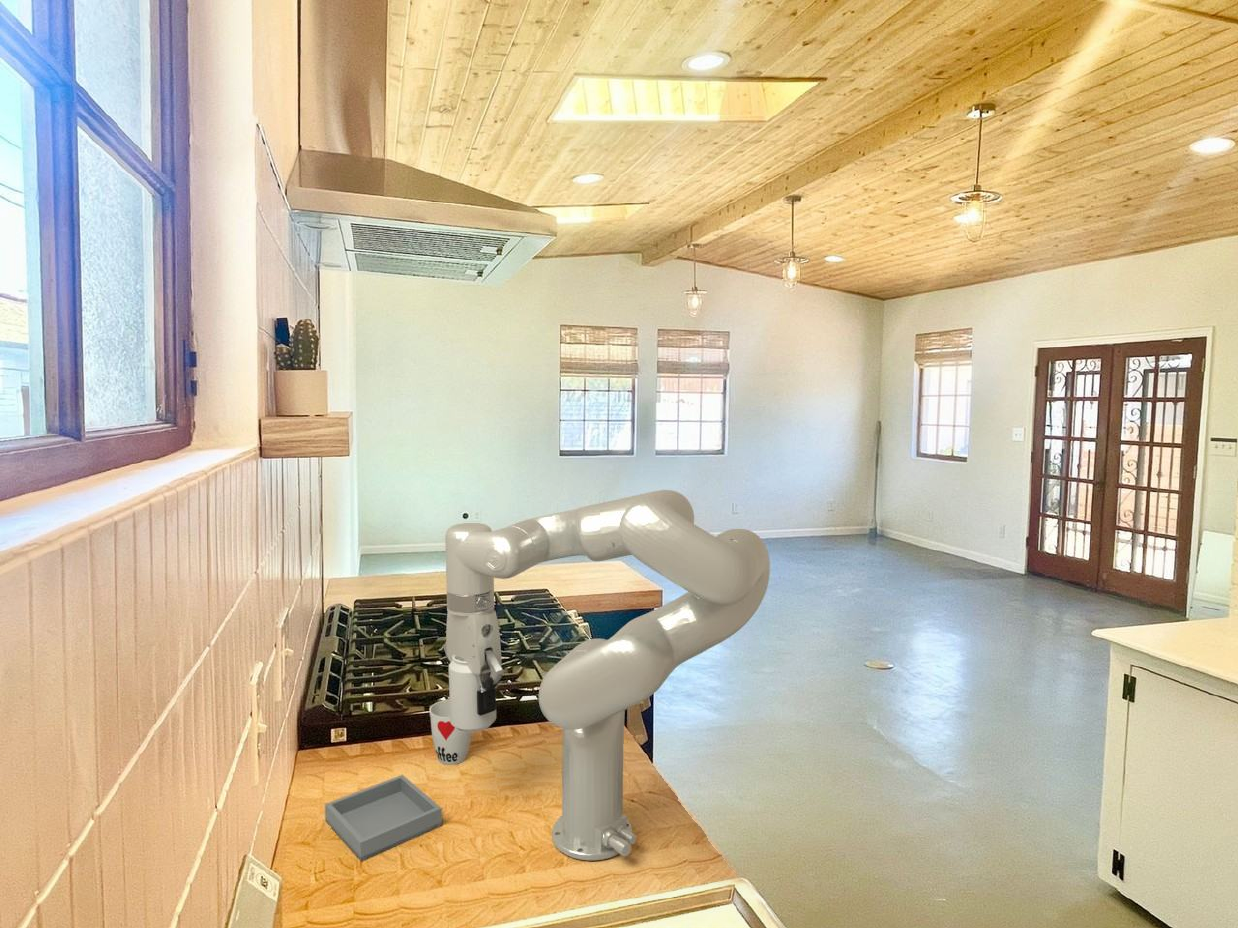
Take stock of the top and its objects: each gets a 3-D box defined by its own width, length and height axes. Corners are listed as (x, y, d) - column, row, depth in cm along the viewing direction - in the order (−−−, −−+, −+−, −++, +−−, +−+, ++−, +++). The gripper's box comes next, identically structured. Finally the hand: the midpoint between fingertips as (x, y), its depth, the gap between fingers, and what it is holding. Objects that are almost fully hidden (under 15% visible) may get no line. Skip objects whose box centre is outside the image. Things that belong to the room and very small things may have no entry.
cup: (421, 760, 141) (420, 709, 140) (453, 743, 148) (453, 694, 147) (451, 773, 137) (450, 721, 135) (483, 755, 143) (482, 705, 142)
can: (486, 736, 120) (484, 664, 118) (442, 732, 121) (440, 660, 120) (502, 715, 127) (501, 647, 125) (461, 711, 128) (459, 644, 127)
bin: (442, 825, 121) (441, 807, 121) (361, 861, 112) (360, 842, 112) (402, 790, 131) (402, 774, 131) (325, 821, 122) (324, 803, 121)
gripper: (521, 607, 118) (522, 715, 120) (462, 584, 130) (465, 682, 132) (479, 617, 113) (482, 729, 115) (423, 593, 125) (426, 694, 127)
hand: (472, 703), depth 123 cm, fingers closed on can, 7 cm apart
